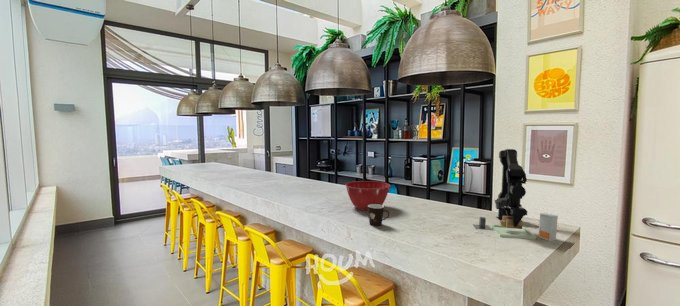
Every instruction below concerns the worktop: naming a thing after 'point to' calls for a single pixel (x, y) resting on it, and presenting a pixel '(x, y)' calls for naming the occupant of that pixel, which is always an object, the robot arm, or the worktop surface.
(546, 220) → the skincare box
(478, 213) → the worktop surface
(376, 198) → the mixing bowl
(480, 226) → the grey upright post
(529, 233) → the tray
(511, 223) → the wooden lantern frame
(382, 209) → the coffee mug
